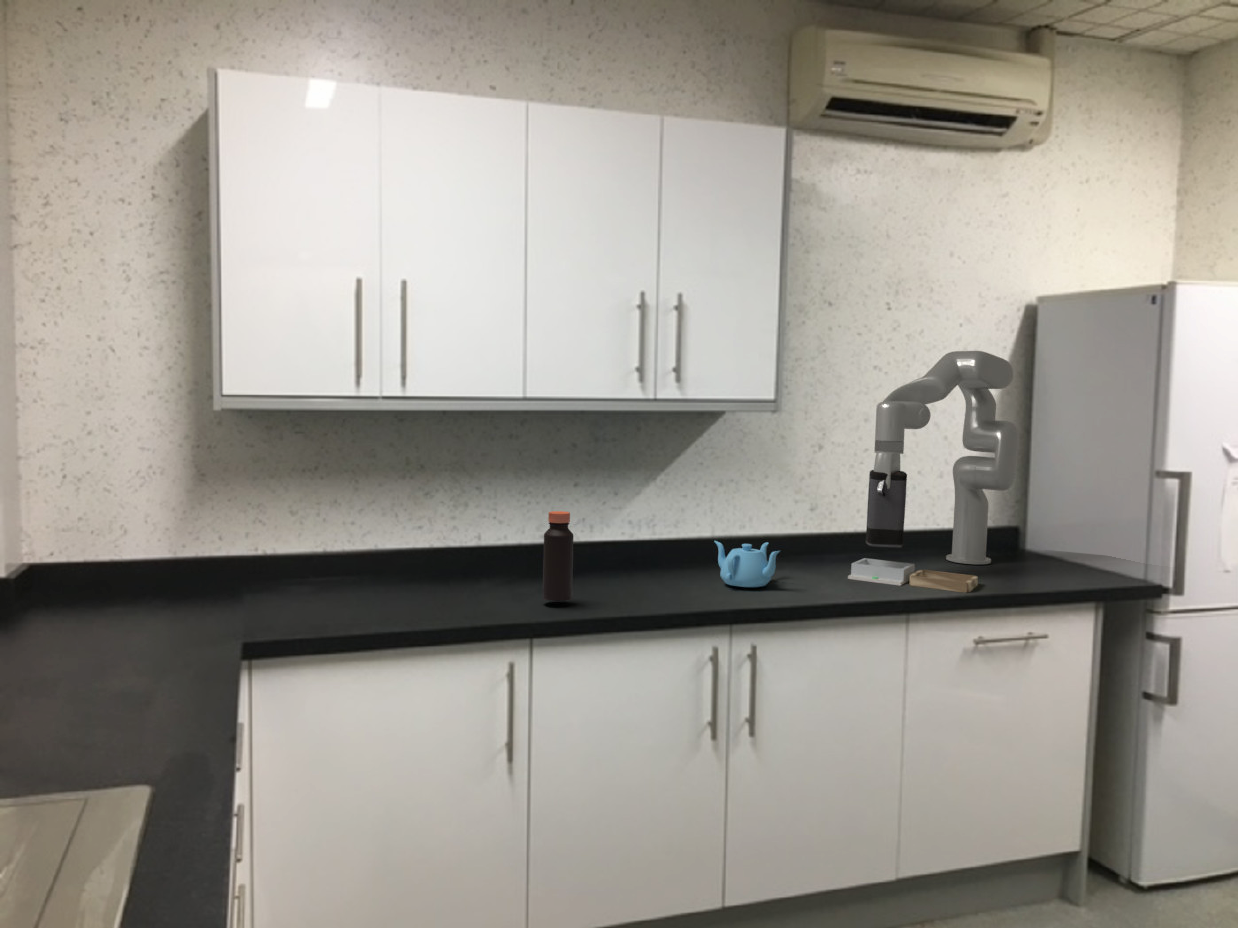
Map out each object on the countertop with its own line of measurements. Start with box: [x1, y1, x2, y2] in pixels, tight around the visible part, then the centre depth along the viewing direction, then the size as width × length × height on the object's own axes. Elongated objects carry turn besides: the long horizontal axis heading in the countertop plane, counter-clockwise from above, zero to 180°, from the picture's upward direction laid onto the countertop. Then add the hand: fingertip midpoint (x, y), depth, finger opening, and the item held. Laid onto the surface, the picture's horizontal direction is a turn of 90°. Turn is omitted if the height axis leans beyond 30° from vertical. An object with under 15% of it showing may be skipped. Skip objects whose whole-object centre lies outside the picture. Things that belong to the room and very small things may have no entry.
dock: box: [847, 557, 916, 587], centre depth 251 cm, size 16×14×4 cm
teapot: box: [713, 540, 781, 588], centre depth 237 cm, size 15×15×10 cm
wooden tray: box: [908, 569, 979, 593], centre depth 242 cm, size 12×15×2 cm
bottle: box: [542, 510, 574, 602], centre depth 213 cm, size 7×7×20 cm
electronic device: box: [865, 469, 908, 548], centre depth 248 cm, size 9×6×20 cm, turn 83°
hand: (886, 514), depth 250 cm, fingers closed on electronic device, 4 cm apart
